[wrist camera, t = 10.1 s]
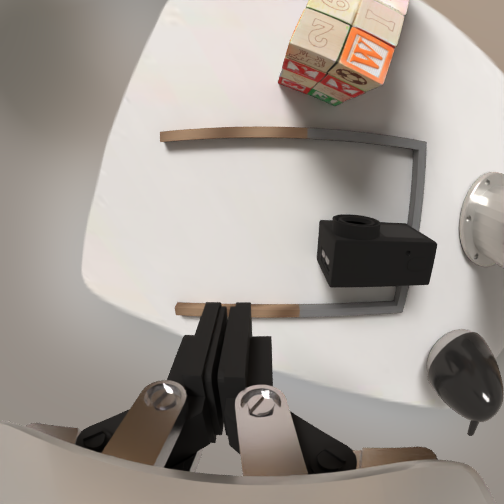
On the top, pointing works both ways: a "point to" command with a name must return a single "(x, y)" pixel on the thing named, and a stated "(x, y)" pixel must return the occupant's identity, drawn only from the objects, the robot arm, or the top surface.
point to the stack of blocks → (342, 47)
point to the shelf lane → (237, 132)
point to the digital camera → (373, 253)
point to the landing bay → (413, 221)
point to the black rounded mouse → (466, 376)
